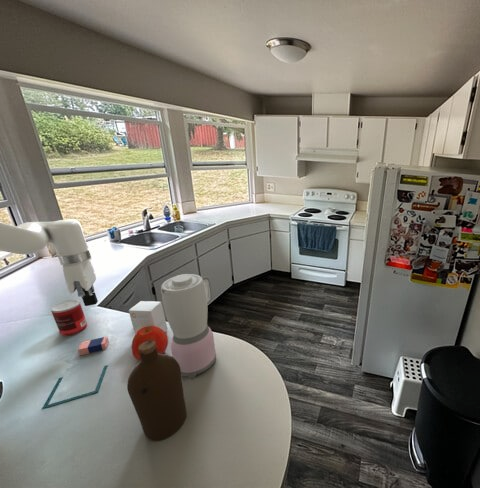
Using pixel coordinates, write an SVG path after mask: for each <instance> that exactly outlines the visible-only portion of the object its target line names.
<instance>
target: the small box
mask: <svg viewBox="0 0 480 488" xmlns="http://www.w3.org/2000/svg"><path fill="white" fill-rule="evenodd" d="M128 313H129V317H130V321H131V324H132V329H133V331H134V332H133V333H134V335H135V334H136V333H137V331H138V330H140V329H141V328H143V327H146V326H156V327H159V328H161V329H162V330H163V331H165V332H166V333H167V331H168V325H167V319H166V315H165V311H164V306H163V302H162V301H154V300H153V301H152V300H151V301H150V300H149V301H148V300H140V301H139V302H138V303H136V304H135V305H134V306H132V307H130V309H129V310H128Z"/></svg>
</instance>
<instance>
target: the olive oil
mask: <svg viewBox="0 0 480 488" xmlns="http://www.w3.org/2000/svg"><path fill="white" fill-rule="evenodd" d="M138 349H139V355H140V358H141V361H139V362H138V363H137V364H136V365H135V366H134V368H133V369H132V370H131V372H130V373H129V376H128V380H127V385H126V388H127V389H126V390H127V393H128V396H129V398H130V400H131V403H132V405H133V407H134V411H136V412H135V413H136V415H137V417H138V420H139V422H140V425H141V428H142V430H143V433H144V436H145V437H146V438H147V439H148V440H150V441H153V442H158V441H163V440H165V439H168V438H170V437H171V436H172V435H174V434H175V433H177V432H178V430H180V429H181V428H182V426H183V425H184V423H185V421H186V419H187V407H186V401H185V393H184V386H183V378H182V375H181V370H180V366H179V364H178V362H177V361H176V360H175V359H174V358H173V355H172V356H171V355H170V354H167V353H166V354H165V353H163V354H159V353H158V350H157V346H156V344H155V342H154V341H146V342H144V343H142V344H141V345H140V346H139V348H138Z"/></svg>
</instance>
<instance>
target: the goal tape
mask: <svg viewBox="0 0 480 488" xmlns="http://www.w3.org/2000/svg"><path fill="white" fill-rule="evenodd" d="M107 368H108V364H106V365H104V366H103V368H102V371H101V374H100V375H99V379H98V382H97V384H96V386H95V389H94V390H93V391H90V392H86V393H82V394H79V395H76V396H72V397H69V398H66V399H61V400H59V401H55V402H52V403H50V402H51V400H52V399H53V397H54V394H55V393H56V391H57V390H58V388H59V385H60V384H59V383H61V382H62V381H63V378H64V377H59V378H58V379H57V381H56V383H55V385H54V386H53V388H52V390H51V392H50V393H49V394H48V397H47V399H46V401H45V402H44V404H43V406H42V408H41V410H43V409H48V408H51V407H54V406H57V405H60V404H64V403H67V402H70V401H74V400H77V399H80V398H83V397H88V396H91V395H94V394H97V393H99V390H100V388H101V385H102V382H103V379H104V377H105V374H106V371H107Z"/></svg>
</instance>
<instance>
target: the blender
mask: <svg viewBox="0 0 480 488" xmlns="http://www.w3.org/2000/svg"><path fill="white" fill-rule="evenodd" d="M160 293H161V299H162V306H163V311H164V315H165V319H166V321H167V322H168V325H169V327H170V329H171V331H172V334H173V335H172V338H171V342H170V351H171V355H172V357H173V358H174V359H175V360H176V361H177V362H178V364H179V366H180V370H181V376H185V377H187V379H194V378H196V375H198V374H201V373H203V372H205V371H206V370H208V369H209V368H211V367H212V366H213V364H214V363H215V361H217V353H216V346H215V345H216V344H215V337H214V333H213V330H212V329H211V327H210V326H209V325H208V314H209V312H208V309H209V308H208V306H209V305H208V304H209V303H210V302H211V300H212V287H211V281H210V278H209V277H208V276H205V275H203V276H201V275H198V274H195V273H181V274H177V275H175V276H172V277H170V278H168V279H166V280H165V281H164V282H163V283H162V284H161V286H160Z"/></svg>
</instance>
